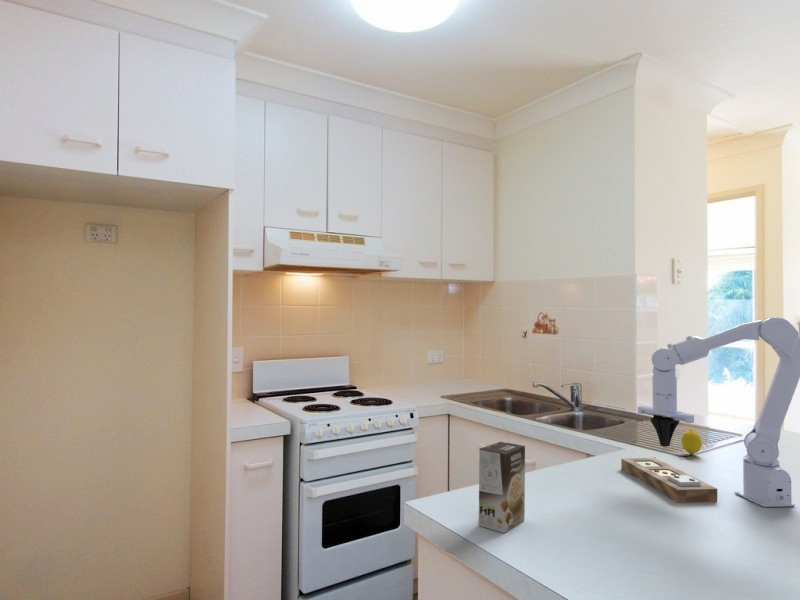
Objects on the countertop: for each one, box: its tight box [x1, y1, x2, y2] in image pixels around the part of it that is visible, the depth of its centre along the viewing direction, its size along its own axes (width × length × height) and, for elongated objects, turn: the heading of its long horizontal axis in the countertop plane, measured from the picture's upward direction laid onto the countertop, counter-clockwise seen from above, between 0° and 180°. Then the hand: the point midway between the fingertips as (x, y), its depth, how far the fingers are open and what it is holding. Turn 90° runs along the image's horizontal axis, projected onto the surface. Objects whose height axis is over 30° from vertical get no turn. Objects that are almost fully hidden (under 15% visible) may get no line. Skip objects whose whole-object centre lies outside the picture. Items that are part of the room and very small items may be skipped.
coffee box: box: [478, 441, 526, 534], centre depth 110 cm, size 9×6×16 cm
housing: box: [620, 457, 718, 503], centre depth 136 cm, size 26×10×3 cm, turn 5°
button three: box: [651, 470, 677, 476], centre depth 136 cm, size 5×5×3 cm
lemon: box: [681, 429, 702, 456], centre depth 164 cm, size 6×6×8 cm
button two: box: [668, 474, 701, 486], centre depth 128 cm, size 5×5×3 cm
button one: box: [636, 461, 659, 467], centre depth 144 cm, size 5×5×3 cm
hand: (665, 445), depth 136 cm, fingers closed
